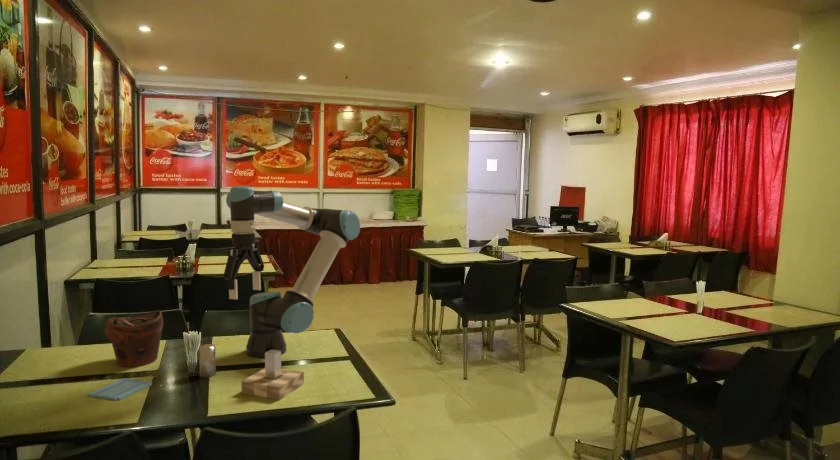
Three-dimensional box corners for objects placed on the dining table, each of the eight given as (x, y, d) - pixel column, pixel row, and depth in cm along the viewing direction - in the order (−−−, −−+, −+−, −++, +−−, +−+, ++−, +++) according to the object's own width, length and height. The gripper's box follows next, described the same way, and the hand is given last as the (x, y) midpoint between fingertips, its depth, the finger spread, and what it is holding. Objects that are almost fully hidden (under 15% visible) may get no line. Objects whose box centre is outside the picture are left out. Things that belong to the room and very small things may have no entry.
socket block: (268, 377, 188) (267, 366, 187) (303, 383, 183) (303, 372, 182) (241, 393, 175) (241, 381, 174) (279, 400, 170) (279, 387, 169)
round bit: (206, 371, 193) (206, 343, 192) (219, 373, 192) (218, 345, 191) (196, 376, 188) (195, 347, 187) (208, 378, 187) (207, 349, 186)
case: (93, 366, 196) (92, 317, 194) (140, 350, 215) (139, 304, 213) (131, 374, 190) (130, 323, 188) (175, 356, 208) (175, 310, 206)
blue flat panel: (118, 402, 168) (118, 398, 168) (87, 397, 171) (87, 393, 171) (152, 386, 181) (152, 382, 180) (123, 381, 184) (123, 377, 184)
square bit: (272, 385, 181) (271, 349, 180) (281, 386, 180) (281, 350, 178) (265, 389, 178) (264, 352, 176) (275, 390, 176) (274, 354, 175)
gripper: (230, 237, 173) (233, 304, 176) (272, 228, 197) (274, 286, 199) (209, 236, 175) (212, 302, 178) (254, 227, 199) (256, 285, 201)
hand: (245, 294), depth 188 cm, fingers open, 13 cm apart
